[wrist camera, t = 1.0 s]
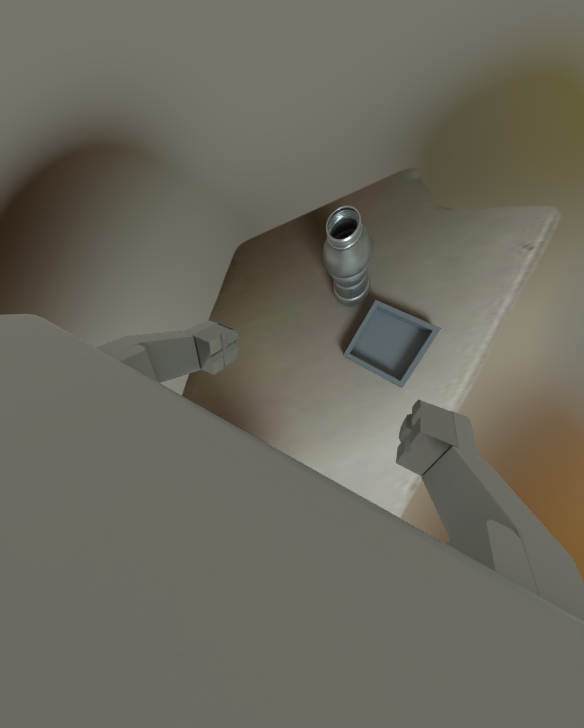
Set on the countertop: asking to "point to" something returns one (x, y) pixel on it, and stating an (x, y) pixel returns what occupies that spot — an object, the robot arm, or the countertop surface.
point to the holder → (391, 342)
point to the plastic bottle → (348, 255)
